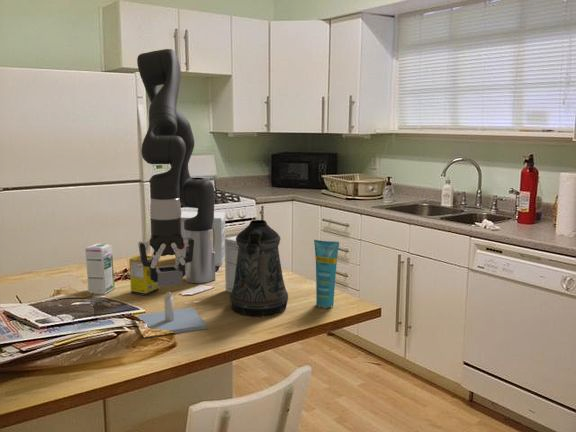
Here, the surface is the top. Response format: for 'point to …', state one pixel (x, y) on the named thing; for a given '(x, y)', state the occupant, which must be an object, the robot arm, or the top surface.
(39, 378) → the top surface
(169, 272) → the tissue dispenser
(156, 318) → the keeper plate
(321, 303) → the tube
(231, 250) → the supplement box
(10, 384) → the top surface
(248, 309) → the dark ornate coffee pot
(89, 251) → the syrup box
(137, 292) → the supplement box
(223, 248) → the supplement box
